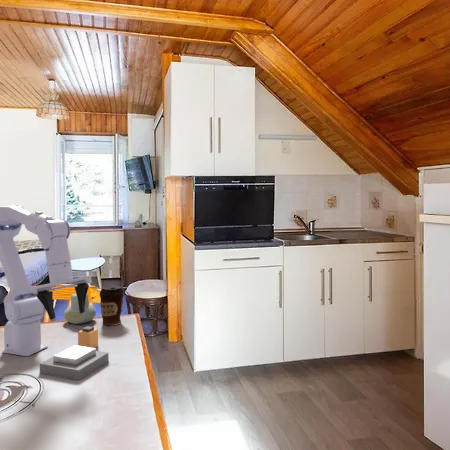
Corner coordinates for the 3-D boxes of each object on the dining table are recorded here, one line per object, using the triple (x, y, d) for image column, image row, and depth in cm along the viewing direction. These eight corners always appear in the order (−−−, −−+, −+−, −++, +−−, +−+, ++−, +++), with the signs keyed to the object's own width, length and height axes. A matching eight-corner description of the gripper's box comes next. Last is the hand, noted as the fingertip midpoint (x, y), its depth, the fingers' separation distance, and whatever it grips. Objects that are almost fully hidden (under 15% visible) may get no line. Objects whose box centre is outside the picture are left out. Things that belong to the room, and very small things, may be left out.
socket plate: (39, 373, 101) (39, 363, 101) (72, 355, 112) (72, 347, 112) (79, 380, 97) (78, 370, 97) (108, 361, 109) (108, 352, 108)
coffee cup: (117, 328, 137) (116, 290, 136) (94, 326, 139) (94, 289, 138) (128, 320, 146) (127, 285, 145) (107, 319, 147) (106, 284, 146)
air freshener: (99, 318, 148) (99, 292, 147) (89, 325, 139) (89, 297, 139) (71, 317, 149) (70, 291, 148) (59, 324, 141) (59, 296, 140)
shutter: (53, 361, 102) (53, 355, 102) (74, 350, 110) (74, 345, 109) (75, 365, 100) (75, 359, 100) (96, 353, 107) (95, 348, 107)
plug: (78, 349, 118) (77, 329, 117) (87, 344, 122) (86, 325, 121) (89, 350, 116) (89, 330, 116) (98, 346, 120) (97, 326, 120)
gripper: (24, 270, 101) (33, 323, 100) (83, 259, 102) (91, 312, 101) (35, 269, 108) (43, 319, 107) (89, 259, 109) (98, 308, 108)
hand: (67, 315), depth 105 cm, fingers open, 7 cm apart
